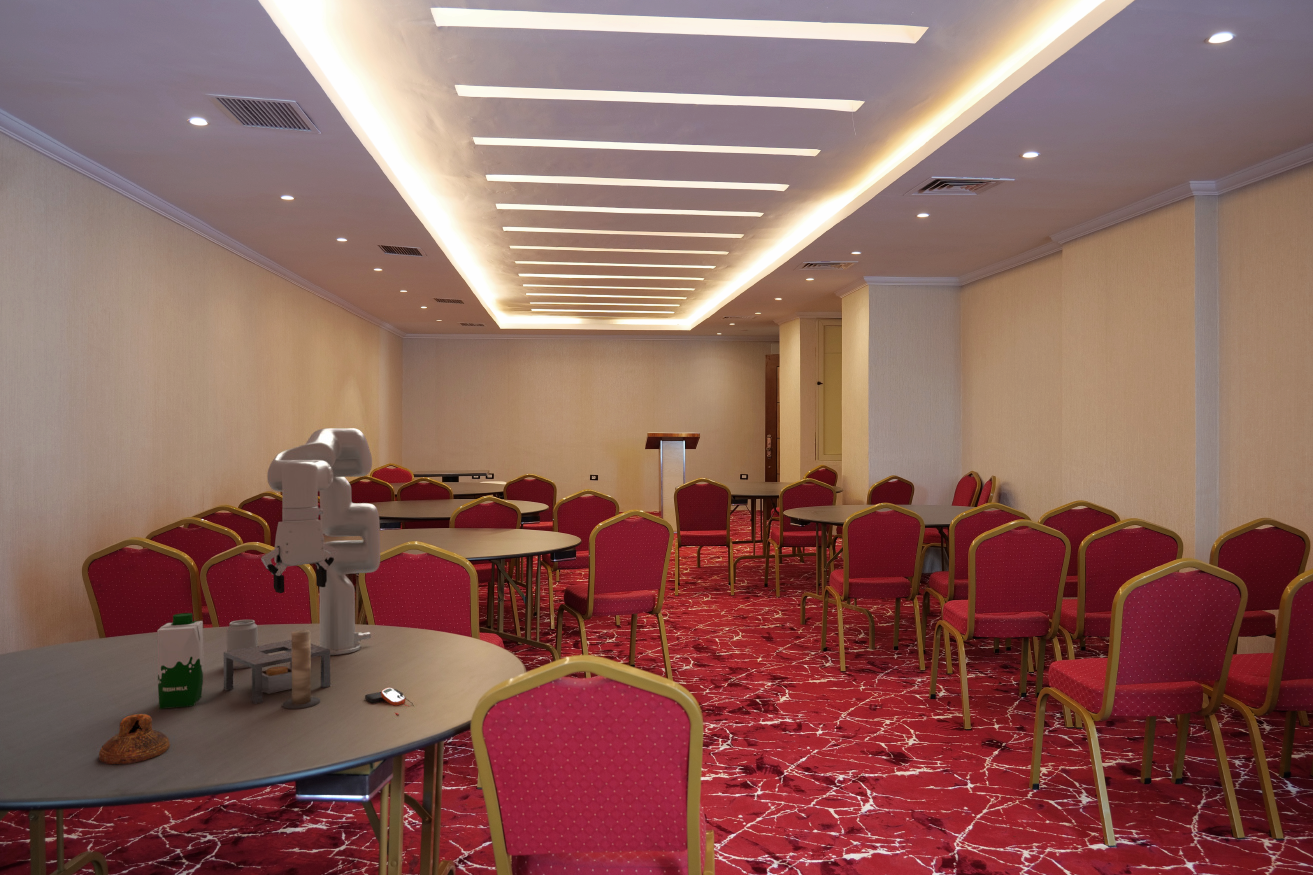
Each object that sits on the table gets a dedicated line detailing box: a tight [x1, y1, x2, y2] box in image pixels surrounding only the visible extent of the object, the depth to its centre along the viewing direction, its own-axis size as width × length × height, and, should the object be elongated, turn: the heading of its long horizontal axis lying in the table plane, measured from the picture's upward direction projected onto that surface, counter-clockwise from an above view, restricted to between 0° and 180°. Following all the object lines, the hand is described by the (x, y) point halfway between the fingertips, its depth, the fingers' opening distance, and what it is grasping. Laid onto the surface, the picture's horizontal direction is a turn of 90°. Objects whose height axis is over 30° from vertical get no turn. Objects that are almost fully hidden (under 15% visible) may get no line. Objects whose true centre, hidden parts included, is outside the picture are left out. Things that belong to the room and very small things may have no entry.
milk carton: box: [157, 612, 204, 710], centre depth 192 cm, size 9×9×20 cm
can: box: [226, 619, 259, 670], centre depth 225 cm, size 8×8×12 cm
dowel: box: [291, 629, 312, 704], centre depth 191 cm, size 4×4×16 cm
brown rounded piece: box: [98, 713, 171, 765], centre depth 161 cm, size 12×12×7 cm
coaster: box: [281, 696, 321, 710], centre depth 191 cm, size 8×8×1 cm
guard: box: [223, 639, 331, 705], centre depth 204 cm, size 18×18×9 cm
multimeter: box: [364, 687, 415, 716], centre depth 191 cm, size 18×12×3 cm, turn 34°
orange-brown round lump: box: [265, 665, 289, 676], centre depth 204 cm, size 5×5×4 cm
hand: (300, 589), depth 191 cm, fingers open, 9 cm apart
